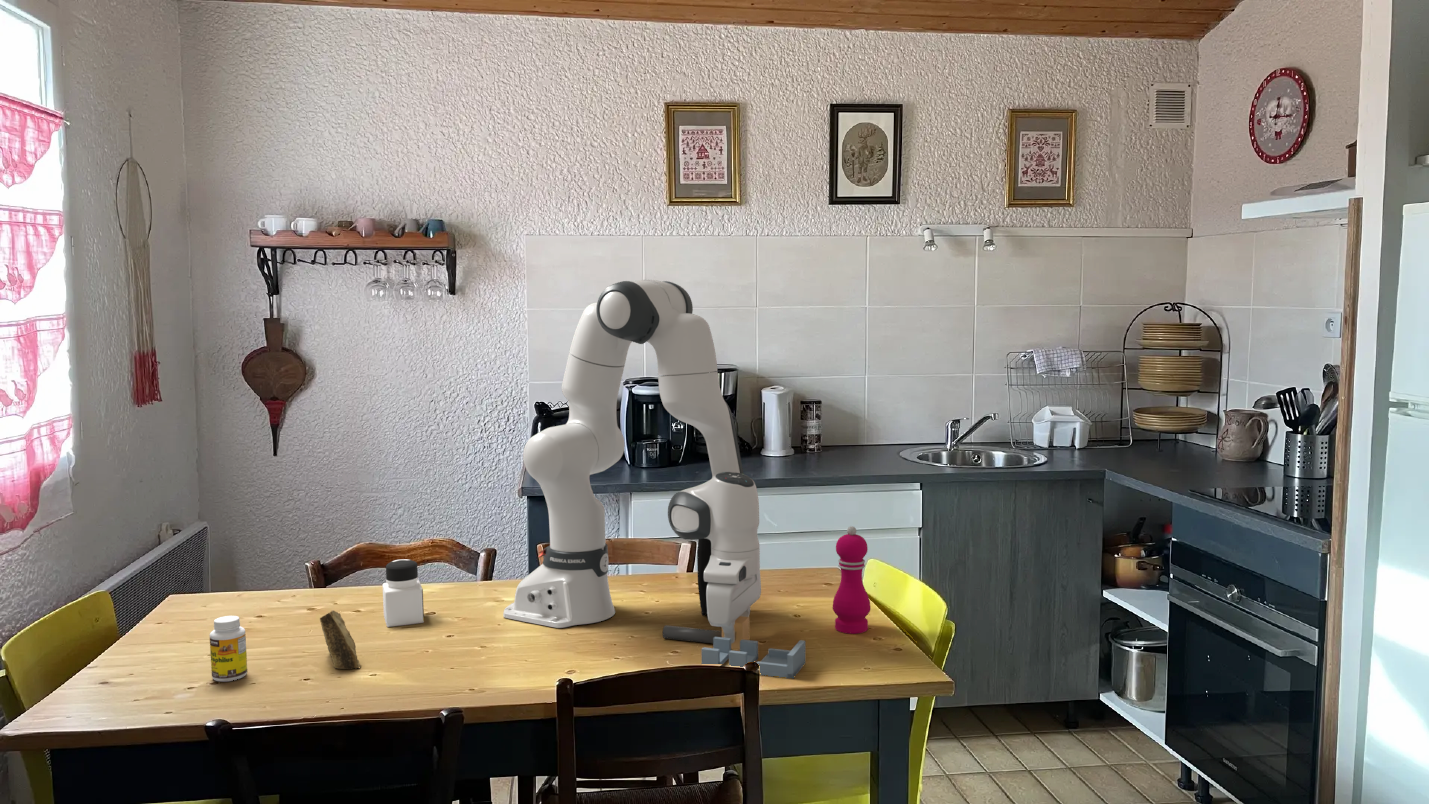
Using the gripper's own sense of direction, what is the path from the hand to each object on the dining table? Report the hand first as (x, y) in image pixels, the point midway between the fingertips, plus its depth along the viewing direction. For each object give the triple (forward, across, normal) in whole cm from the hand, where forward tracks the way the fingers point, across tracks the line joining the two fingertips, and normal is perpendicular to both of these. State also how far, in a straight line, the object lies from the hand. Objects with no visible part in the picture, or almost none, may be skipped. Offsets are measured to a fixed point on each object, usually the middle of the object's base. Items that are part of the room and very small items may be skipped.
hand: (736, 636), depth 193 cm
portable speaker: (+2, -17, -9) cm, 19 cm away
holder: (+2, +9, +11) cm, 14 cm away
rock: (+2, +29, -64) cm, 70 cm away
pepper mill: (+2, -16, +18) cm, 24 cm away
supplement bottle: (+2, +42, -77) cm, 88 cm away
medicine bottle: (+2, +6, -68) cm, 68 cm away
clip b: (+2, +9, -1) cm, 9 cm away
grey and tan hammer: (+2, 0, -6) cm, 6 cm away
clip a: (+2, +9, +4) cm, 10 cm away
